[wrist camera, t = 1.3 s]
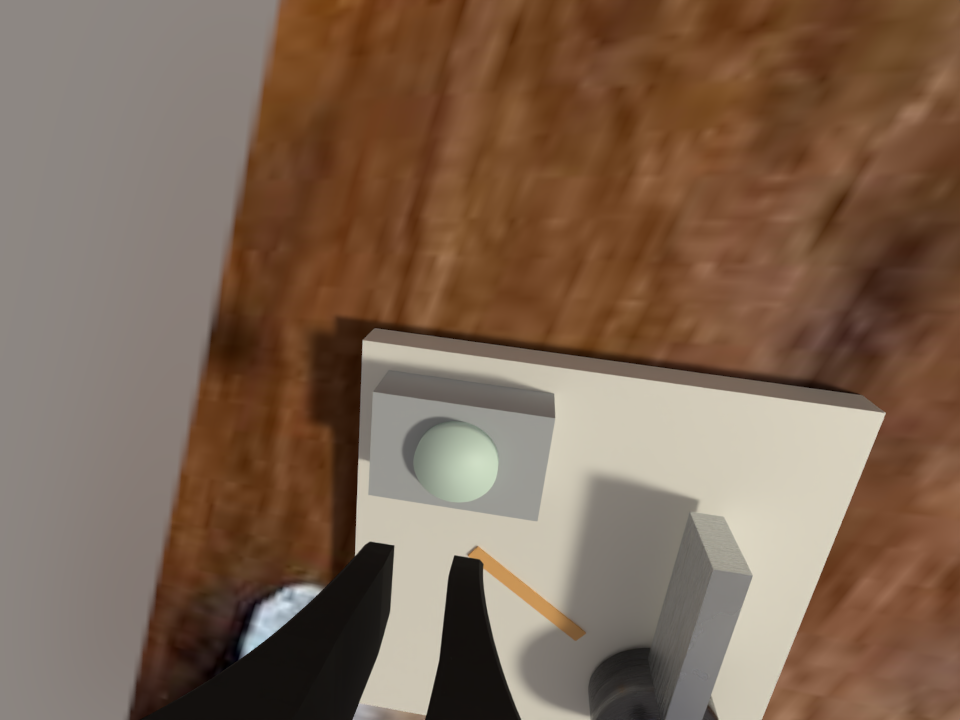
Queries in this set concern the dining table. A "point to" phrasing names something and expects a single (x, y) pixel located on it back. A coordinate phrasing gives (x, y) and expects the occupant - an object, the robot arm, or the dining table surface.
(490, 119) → the dining table surface
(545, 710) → the leveling plate
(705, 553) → the knob
